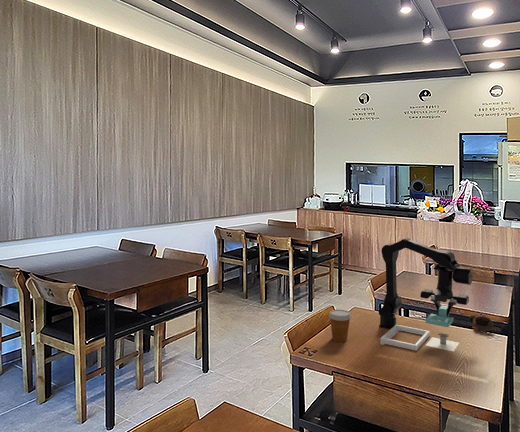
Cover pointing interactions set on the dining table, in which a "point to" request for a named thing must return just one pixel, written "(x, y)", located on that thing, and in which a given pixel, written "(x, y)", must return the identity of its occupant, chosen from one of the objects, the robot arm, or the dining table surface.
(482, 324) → the pottery mug
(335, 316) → the disposable coffee cup
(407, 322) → the dining table surface
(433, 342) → the stake board
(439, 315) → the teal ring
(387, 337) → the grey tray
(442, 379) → the dining table surface
